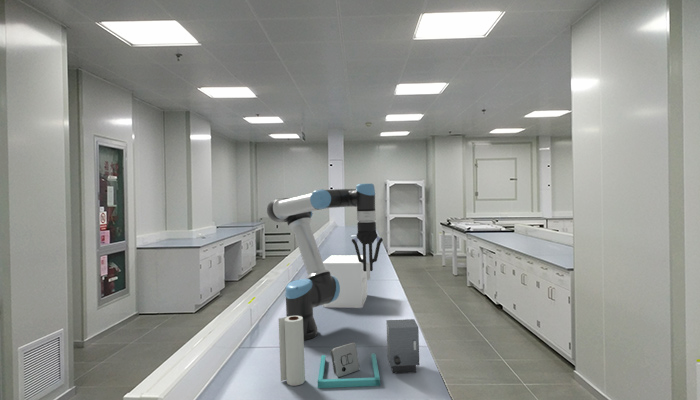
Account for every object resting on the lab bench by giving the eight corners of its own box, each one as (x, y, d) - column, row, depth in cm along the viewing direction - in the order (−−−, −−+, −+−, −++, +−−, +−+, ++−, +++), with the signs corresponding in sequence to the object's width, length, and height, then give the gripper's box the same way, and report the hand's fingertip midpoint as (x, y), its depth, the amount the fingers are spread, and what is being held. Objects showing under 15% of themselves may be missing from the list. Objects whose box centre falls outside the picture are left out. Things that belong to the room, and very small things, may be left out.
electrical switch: (338, 378, 130) (335, 350, 130) (330, 374, 134) (327, 346, 135) (360, 370, 135) (358, 343, 136) (352, 366, 140) (350, 340, 140)
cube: (362, 308, 207) (360, 263, 206) (323, 308, 210) (321, 263, 210) (367, 295, 231) (366, 255, 231) (332, 295, 235) (331, 255, 234)
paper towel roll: (308, 381, 129) (306, 317, 128) (294, 388, 124) (292, 322, 124) (294, 374, 134) (292, 313, 133) (280, 381, 129) (278, 317, 128)
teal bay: (317, 388, 124) (317, 381, 124) (321, 360, 144) (321, 355, 144) (380, 385, 124) (380, 379, 124) (375, 358, 144) (375, 353, 144)
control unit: (390, 376, 130) (389, 329, 129) (387, 363, 140) (386, 319, 139) (420, 375, 130) (419, 328, 129) (415, 362, 140) (414, 318, 139)
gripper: (350, 222, 154) (352, 281, 155) (383, 221, 154) (385, 280, 155) (350, 221, 162) (352, 277, 162) (381, 220, 162) (383, 276, 162)
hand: (368, 278), depth 158 cm, fingers closed
